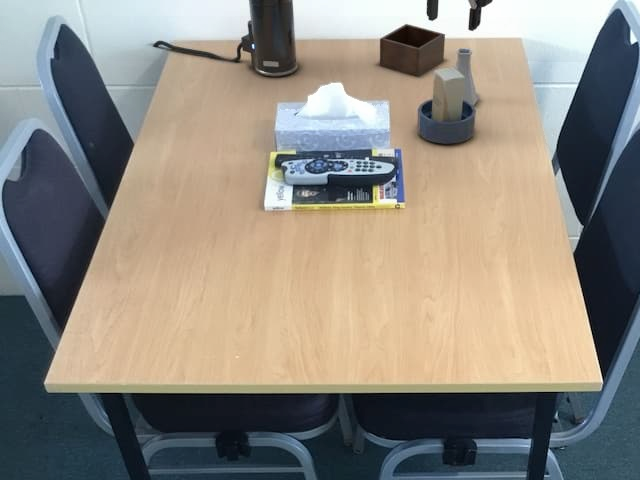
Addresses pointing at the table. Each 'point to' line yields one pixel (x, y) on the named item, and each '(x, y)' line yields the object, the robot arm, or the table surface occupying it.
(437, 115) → the box
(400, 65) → the box
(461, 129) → the bowl
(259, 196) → the table surface
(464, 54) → the flask
